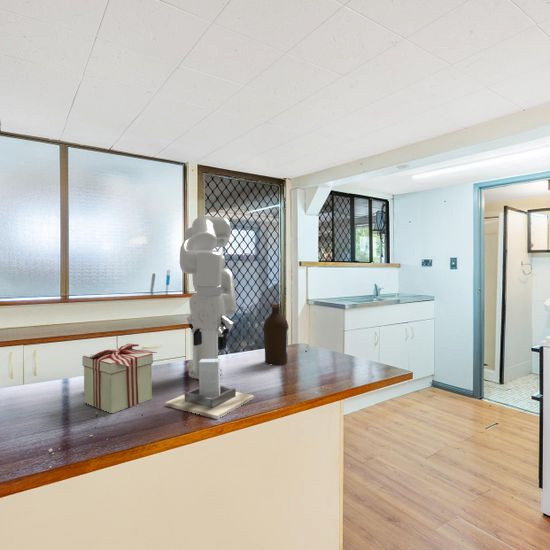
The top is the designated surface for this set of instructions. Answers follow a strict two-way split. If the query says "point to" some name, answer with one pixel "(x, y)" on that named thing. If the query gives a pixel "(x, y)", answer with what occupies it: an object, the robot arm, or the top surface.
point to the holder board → (210, 402)
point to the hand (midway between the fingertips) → (209, 346)
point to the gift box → (118, 378)
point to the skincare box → (209, 377)
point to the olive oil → (276, 337)
